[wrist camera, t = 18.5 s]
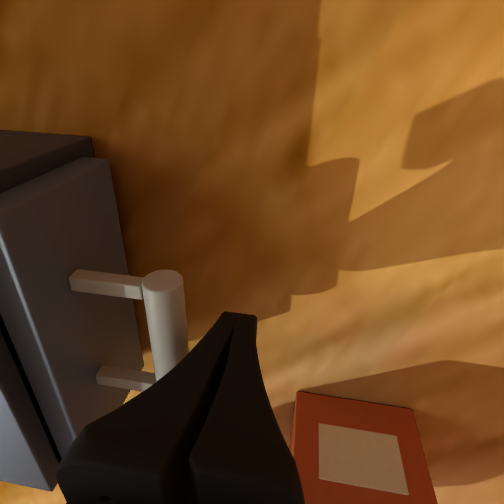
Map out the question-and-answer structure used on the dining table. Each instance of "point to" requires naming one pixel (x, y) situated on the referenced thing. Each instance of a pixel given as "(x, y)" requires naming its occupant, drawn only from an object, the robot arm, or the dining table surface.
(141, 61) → the dining table surface
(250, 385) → the robot arm
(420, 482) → the ridged terracotta block
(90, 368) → the drawer
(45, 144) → the cabinet
